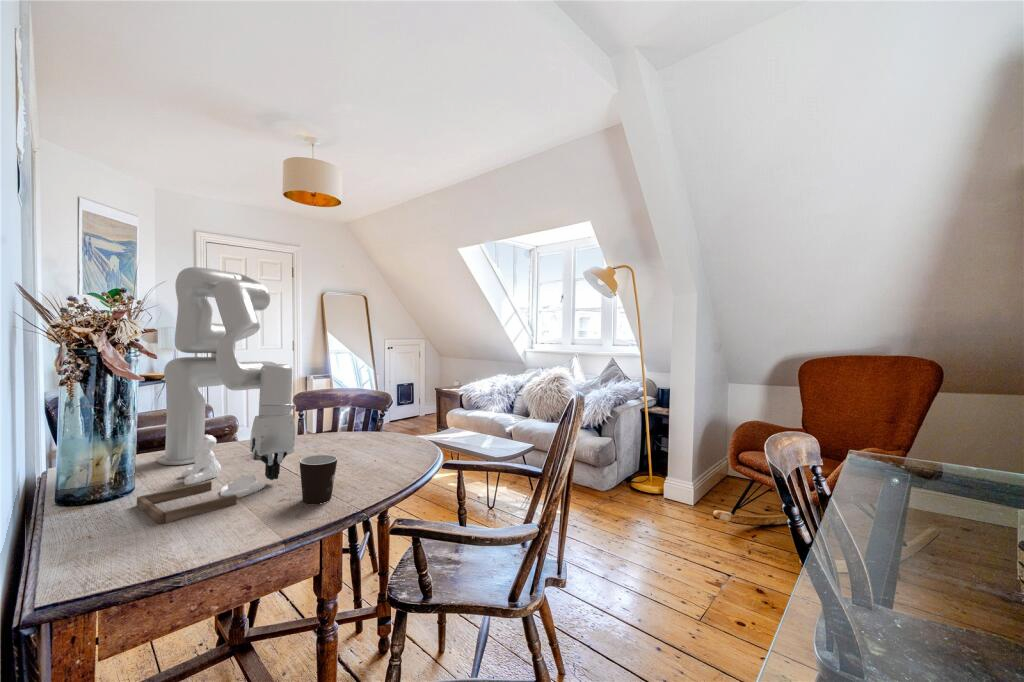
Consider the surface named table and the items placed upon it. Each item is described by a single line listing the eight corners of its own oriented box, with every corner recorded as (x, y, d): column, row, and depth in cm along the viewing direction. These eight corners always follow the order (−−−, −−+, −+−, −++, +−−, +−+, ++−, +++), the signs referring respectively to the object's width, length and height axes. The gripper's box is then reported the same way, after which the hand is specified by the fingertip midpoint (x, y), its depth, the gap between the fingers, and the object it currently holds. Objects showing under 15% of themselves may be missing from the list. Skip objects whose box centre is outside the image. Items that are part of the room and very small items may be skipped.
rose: (262, 479, 106) (215, 483, 103) (261, 497, 106) (215, 501, 103) (267, 467, 116) (224, 470, 112) (266, 484, 116) (224, 487, 112)
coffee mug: (321, 508, 101) (323, 466, 101) (289, 504, 102) (291, 462, 102) (349, 491, 112) (351, 453, 112) (320, 487, 114) (322, 450, 114)
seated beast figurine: (180, 476, 118) (181, 433, 118) (217, 470, 124) (219, 429, 123) (184, 486, 111) (186, 440, 111) (224, 479, 117) (226, 435, 117)
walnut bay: (136, 505, 98) (136, 497, 98) (209, 489, 110) (210, 481, 110) (159, 524, 89) (160, 515, 89) (236, 504, 101) (236, 495, 101)
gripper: (294, 405, 123) (292, 469, 123) (238, 411, 111) (235, 482, 111) (309, 408, 119) (306, 474, 119) (252, 415, 107) (249, 489, 107)
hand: (272, 478), depth 115 cm, fingers closed
